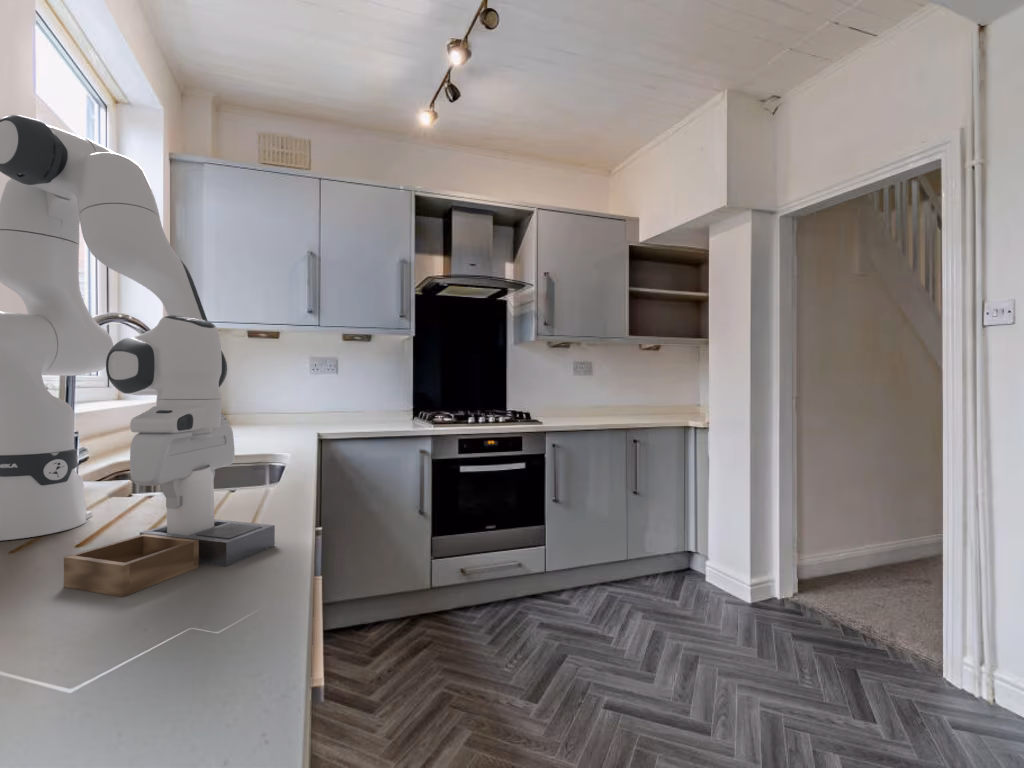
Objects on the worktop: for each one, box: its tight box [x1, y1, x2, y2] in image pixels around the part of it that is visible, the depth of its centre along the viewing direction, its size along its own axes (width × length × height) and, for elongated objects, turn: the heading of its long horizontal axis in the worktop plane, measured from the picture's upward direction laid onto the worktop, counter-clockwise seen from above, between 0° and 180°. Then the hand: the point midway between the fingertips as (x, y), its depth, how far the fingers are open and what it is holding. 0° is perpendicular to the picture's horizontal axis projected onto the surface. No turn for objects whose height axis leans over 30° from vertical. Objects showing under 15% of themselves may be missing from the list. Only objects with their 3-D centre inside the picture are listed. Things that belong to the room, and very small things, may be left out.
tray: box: [139, 518, 276, 568], centre depth 80 cm, size 17×9×4 cm, turn 73°
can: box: [166, 465, 215, 535], centre depth 81 cm, size 6×6×12 cm
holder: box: [63, 534, 200, 598], centre depth 69 cm, size 11×11×4 cm
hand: (189, 502), depth 81 cm, fingers closed on can, 5 cm apart
